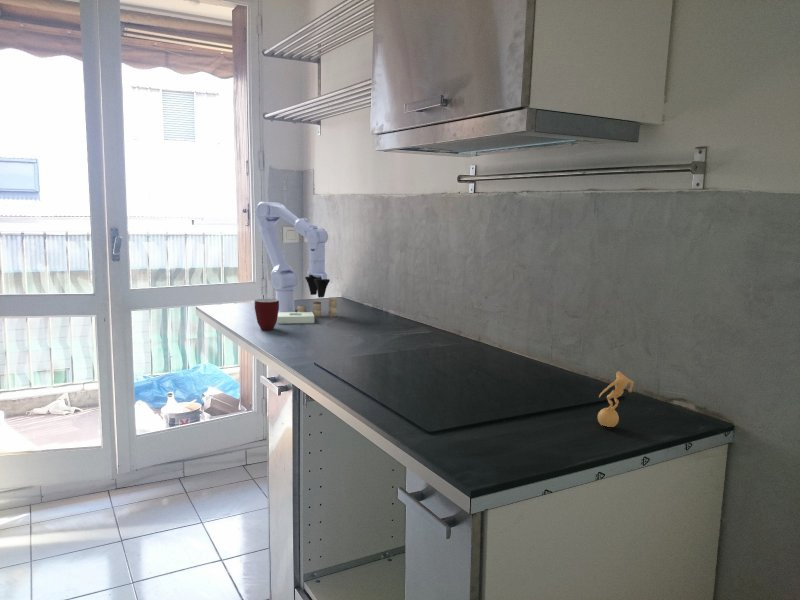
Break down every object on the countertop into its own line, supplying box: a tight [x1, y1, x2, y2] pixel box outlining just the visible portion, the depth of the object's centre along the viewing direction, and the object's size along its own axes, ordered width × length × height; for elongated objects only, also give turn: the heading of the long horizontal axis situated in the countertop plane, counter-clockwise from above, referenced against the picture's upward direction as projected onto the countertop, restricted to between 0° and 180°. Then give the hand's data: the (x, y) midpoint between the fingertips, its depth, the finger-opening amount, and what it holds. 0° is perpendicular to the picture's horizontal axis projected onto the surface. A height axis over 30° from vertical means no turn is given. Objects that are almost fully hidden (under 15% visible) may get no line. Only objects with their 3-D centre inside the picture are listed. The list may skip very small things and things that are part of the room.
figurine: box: [597, 370, 635, 428], centre depth 119 cm, size 8×6×12 cm
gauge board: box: [277, 311, 315, 325], centre depth 223 cm, size 9×13×2 cm
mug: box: [254, 298, 279, 331], centre depth 208 cm, size 11×8×10 cm
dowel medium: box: [312, 301, 322, 318], centre depth 234 cm, size 3×3×6 cm
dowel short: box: [296, 305, 306, 312], centre depth 233 cm, size 3×3×4 cm
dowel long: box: [328, 297, 338, 318], centre depth 235 cm, size 3×3×7 cm
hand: (317, 296), depth 233 cm, fingers open, 7 cm apart
